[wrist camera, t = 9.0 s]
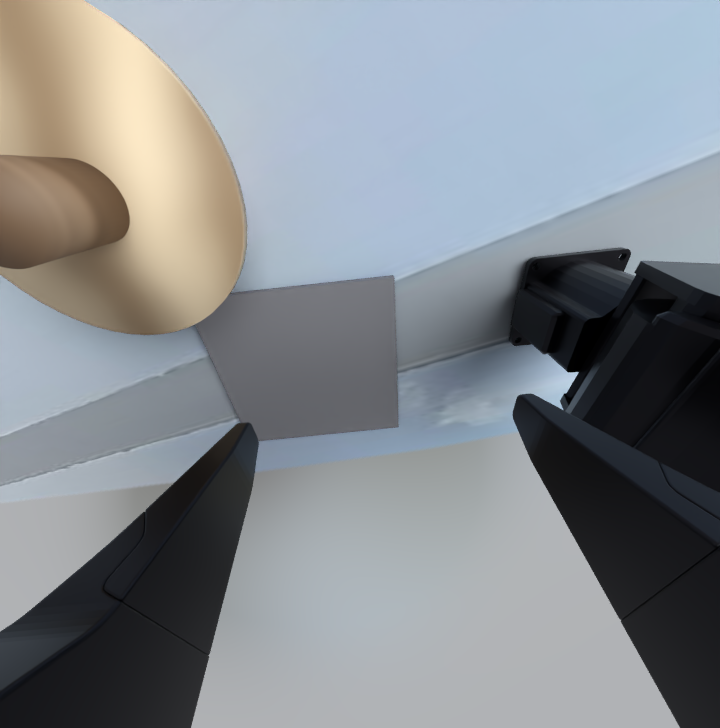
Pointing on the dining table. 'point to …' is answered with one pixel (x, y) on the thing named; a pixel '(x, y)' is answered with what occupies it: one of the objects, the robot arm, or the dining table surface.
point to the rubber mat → (308, 357)
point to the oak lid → (110, 176)
